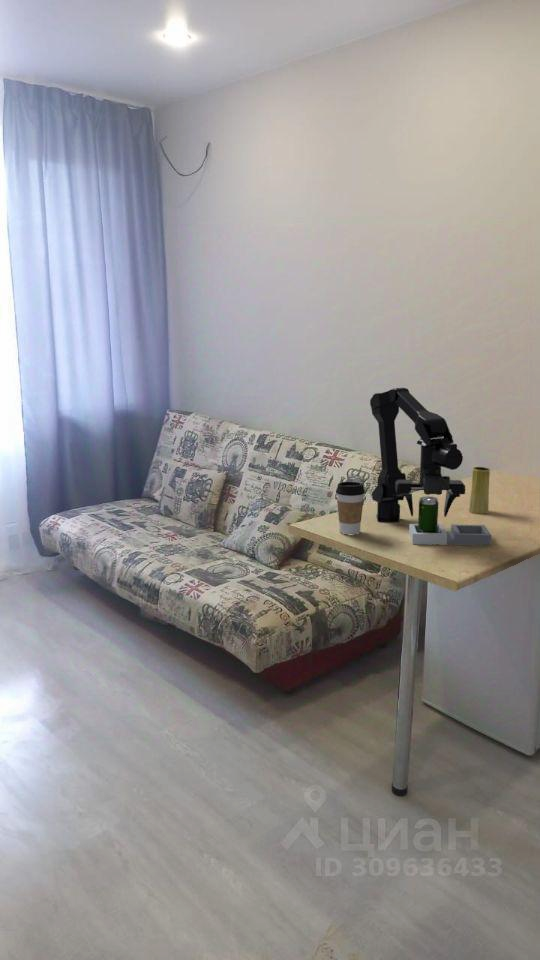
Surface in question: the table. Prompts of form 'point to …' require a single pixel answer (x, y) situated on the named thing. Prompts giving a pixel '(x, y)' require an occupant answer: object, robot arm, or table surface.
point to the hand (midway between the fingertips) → (428, 516)
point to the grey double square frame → (452, 535)
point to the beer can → (428, 515)
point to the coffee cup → (350, 506)
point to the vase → (480, 490)
